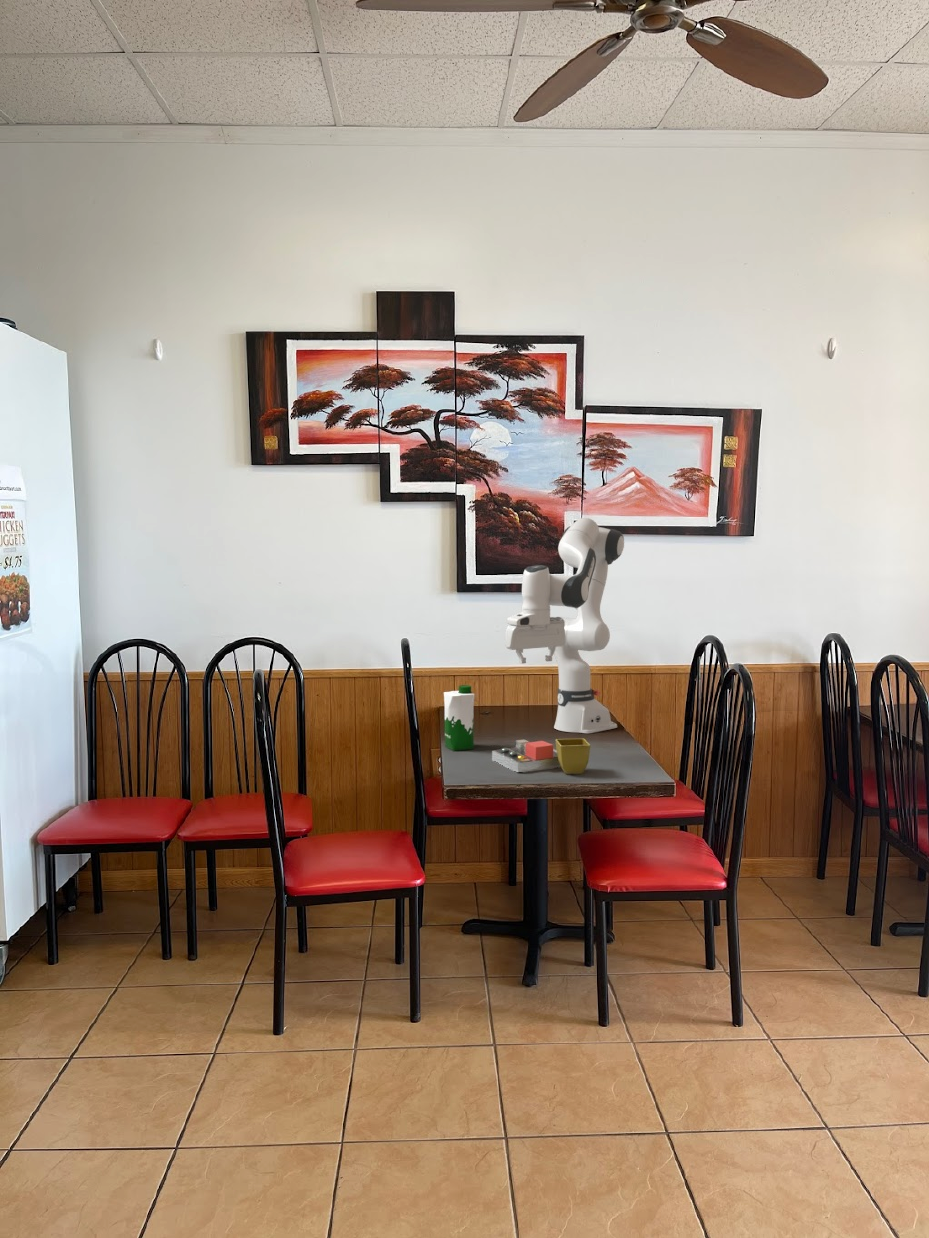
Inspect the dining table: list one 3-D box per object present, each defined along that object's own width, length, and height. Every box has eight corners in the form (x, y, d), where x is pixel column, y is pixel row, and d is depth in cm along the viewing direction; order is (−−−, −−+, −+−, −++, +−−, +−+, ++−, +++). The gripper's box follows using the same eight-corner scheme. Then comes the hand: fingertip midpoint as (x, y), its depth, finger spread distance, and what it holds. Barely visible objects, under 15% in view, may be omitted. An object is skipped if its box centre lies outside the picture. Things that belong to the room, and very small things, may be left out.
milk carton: (477, 749, 293) (477, 687, 291) (451, 752, 290) (451, 690, 287) (466, 743, 301) (466, 683, 299) (441, 745, 298) (440, 685, 295)
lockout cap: (542, 753, 275) (542, 740, 275) (553, 757, 270) (553, 745, 270) (525, 755, 273) (525, 742, 272) (535, 760, 267) (535, 747, 267)
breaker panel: (542, 753, 287) (542, 735, 287) (570, 765, 273) (570, 747, 272) (492, 760, 279) (492, 742, 279) (517, 773, 265) (517, 754, 264)
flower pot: (554, 768, 270) (555, 738, 269) (583, 767, 271) (584, 737, 270) (560, 776, 262) (560, 745, 261) (590, 775, 262) (590, 745, 261)
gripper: (559, 615, 290) (558, 658, 291) (502, 618, 281) (502, 663, 282) (569, 617, 284) (569, 661, 286) (512, 620, 275) (512, 666, 277)
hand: (535, 662), depth 284 cm, fingers open, 8 cm apart
